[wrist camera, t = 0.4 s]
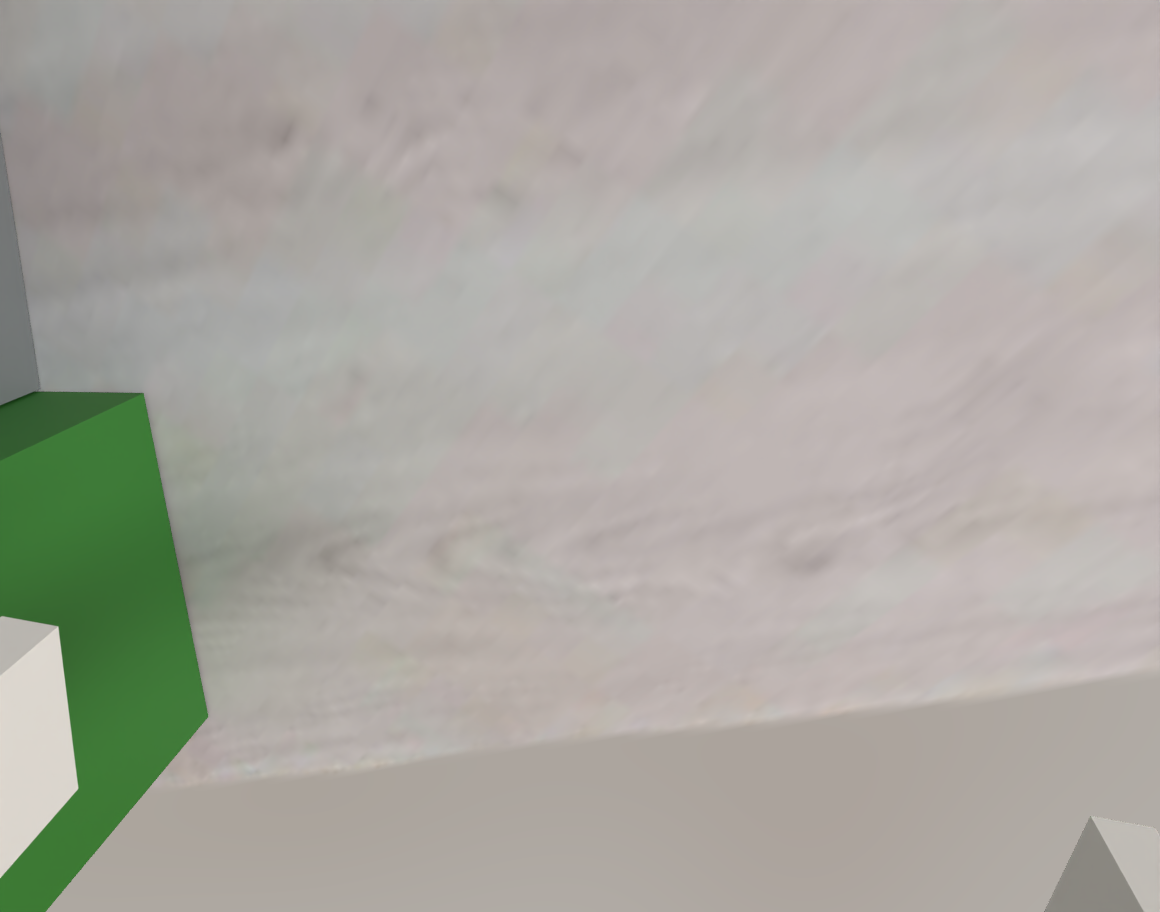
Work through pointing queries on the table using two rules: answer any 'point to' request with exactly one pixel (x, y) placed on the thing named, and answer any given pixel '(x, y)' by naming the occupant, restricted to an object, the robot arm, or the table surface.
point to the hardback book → (95, 611)
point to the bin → (13, 308)
